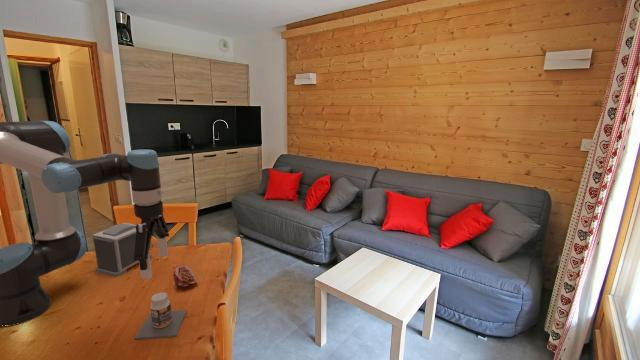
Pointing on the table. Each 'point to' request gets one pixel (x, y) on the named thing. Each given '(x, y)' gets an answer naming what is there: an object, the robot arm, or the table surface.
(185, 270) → the flower
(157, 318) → the pill bottle
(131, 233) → the grey box
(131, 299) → the table surface
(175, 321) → the slate coaster
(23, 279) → the robot arm
